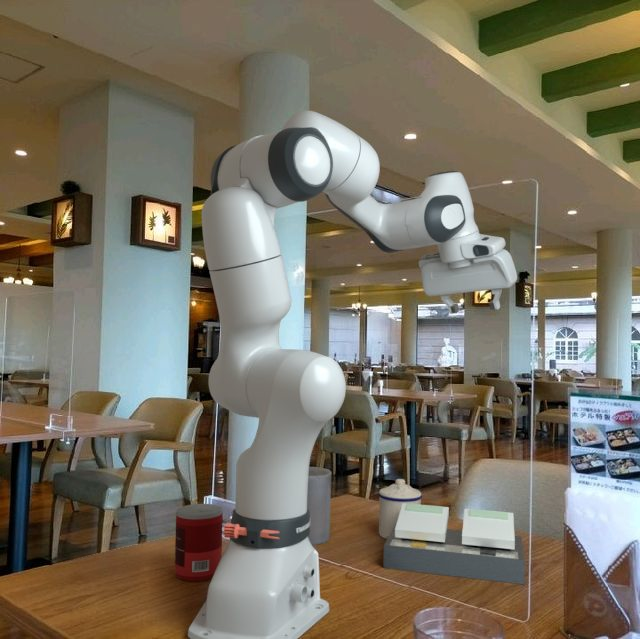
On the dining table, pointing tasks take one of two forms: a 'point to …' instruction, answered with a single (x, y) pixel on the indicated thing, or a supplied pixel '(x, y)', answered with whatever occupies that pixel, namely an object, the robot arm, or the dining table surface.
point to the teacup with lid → (394, 504)
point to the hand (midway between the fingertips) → (474, 310)
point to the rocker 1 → (422, 522)
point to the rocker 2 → (488, 529)
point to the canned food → (198, 541)
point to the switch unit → (455, 558)
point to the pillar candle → (319, 504)
